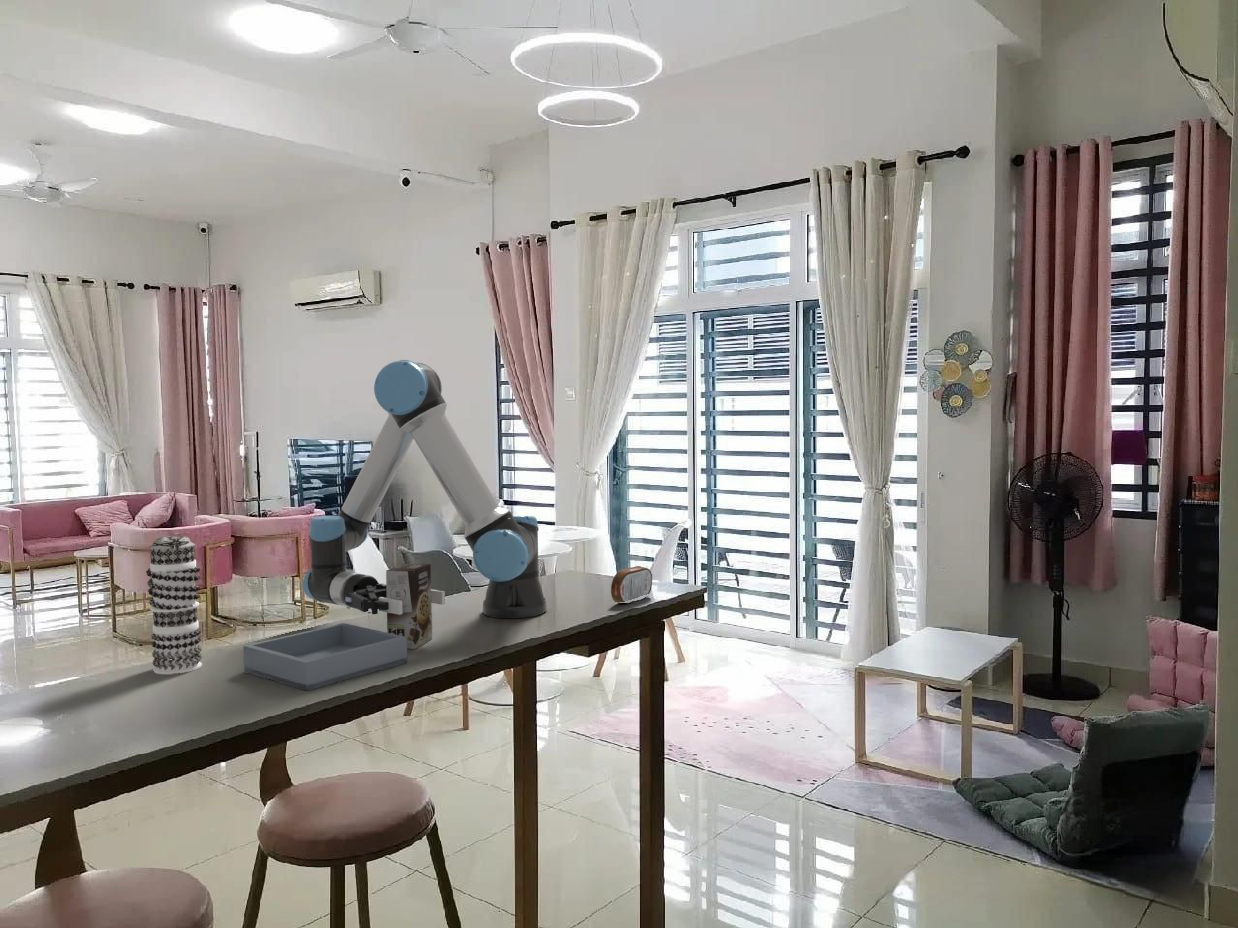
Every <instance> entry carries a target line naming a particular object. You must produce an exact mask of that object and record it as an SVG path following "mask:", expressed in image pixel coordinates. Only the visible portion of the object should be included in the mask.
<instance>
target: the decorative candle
mask: <svg viewBox="0 0 1238 928" xmlns="http://www.w3.org/2000/svg"><path fill="white" fill-rule="evenodd" d="M196 545H197V544H196V543H194V542H192V540H191V539H190V538H189V537H188V536H183V535H181V536H180V535H178V536H177V535H175V536H173V535H172V536H163V537H158V538H156V539H155V540H154V541H153V543H152V545H151V546H148V547H147V548H148V549H150V550H149V551H150V554H149V555H150V563H149V568H148V569H147V570H146V571H145V574H146V576H147V577H150V578H149V579H148V581H147V582H146V584H147V585H148V587H149V589H147V592H148V595H149V596H151V597H150V599H149V601H148V602H149V605H150V606H151V607H150V608H149V611H152V613H153V616H152V619H153V620H152V621H153V624H152V634H151V639H152V640H154V641H153V642H152V643H151V646H152V648H154V650H153V651H152V652H151V655H152V658H153V660H152V665H153V667H154V668H153V669H152V671H154V672H155V673H154V672H153V673H154V674H156V675H174V674H173V673H177V674H176V675H178V673H180V674H185V673H190V672H193V671H196V670H198V669H201V667H202V666H203V663H202V662H201V660H202V659H203V656H202V653H201V652H202V650H203V649H202V646H201V645H199V643H200V642H201V641H202V637H200V636H199V635H200V634H201V633H202V632H201V631H202V630H201V629H200V628H199V627H200V623H199V620H198V607H199V606H200V602H199V601H197V600H198V599H200V598H201V595H200V594H198V593H197V592H198V591H200V589H201V587H200V586H199V585H197V584H196V582H198V581H199V580H201V577H200V575H198V574H197V573H199V572H201V568H200V567H198V566H197V560H196V557H195V556H196V553H195V546H196ZM175 658H176V659H175ZM170 659H172V660H170Z"/></svg>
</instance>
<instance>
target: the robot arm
mask: <svg viewBox="0 0 1238 928" xmlns="http://www.w3.org/2000/svg"><path fill="white" fill-rule="evenodd" d="M442 389H443V388H442V381H441V379H440V376H439V375H438V373H437V371H436V370H434V369H433V368H432V367H431V366H430V365H427V364H425V363H422V362H415V361H413V360H408V359H400V360H396V361H392V362H389V363H388V364H386V365H384V366H383V367H382V368H381V369H380V371H379V372H378V374H377V376H376V377H375V380H374V385H373V391H374V396H375V399H376V402H377V403H378V405H379V406H380V407H381V408H382V409H383V410H384V411H385V412H387V413H388V415H387V418H386V420H385V422H384V424H383V426H382V428H381V430H380V432H379V434H378V436H377V438H376V440H375V442H374V444H373V445H372V447H371V449H370V452H369V453H368V455H367V458H366V459H365V461H364V464H363V465H362V468H360V469H361V470H359V473H358V474H357V477H356V479H355V481H354V483H353V485H352V487H351V489H350V491H349V493H348V495H347V497H346V499H345V501H344V503H343V505H342V507H341V510H340V511H339V513H338V514H337V515H321V516H315V517H313V518H312V519H311V520H310V523H309V525H310V526H309V539H310V540H309V542H310V563H311V565H310V566H311V567H310V569H309V570H308V571H307V572H306V573H305V575H304V577H303V580H302V583H301V584H302V590H303V592H304V594H305V595H306V597H308V598H309V599H312V600H314V601H317V602H319V603H323V604H325V603H326V604H332V605H337V606H341V607H346V609H347V610H350V609H351V608H352V609H356V610H358V611H359V612H360V611H361V612H362V613H367V612H369V610H371V615H378V613H379V612H382V613H383V612H384V613H387V612H388V613H393V614H398V615H401V614H403V613H402V601H401V600H395V599H390V598H387V594H386V593H387V592H386V584H385V583H379V581H378V580H377V578H376V577H374V576H373V575H370V574H362V573H359V572H351V571H347V552H349V551H352V550H354V549H356V548H357V549H358V548H359V547H360V546H361V545H363V543H364V542H365V541H366V540H367V538H368V535H369V529H368V528H369V527H370V524H371V523H372V520H373V518H374V516H375V515H376V513H377V511H378V508H379V506H380V504H382V503H381V502H382V501H383V499H384V497H385V495H386V494H387V491H388V489H389V487H390V486H391V483H392V481H393V479H394V478H395V475H396V474H397V472H398V470H399V467H400V466H401V464H402V463H403V460H404V458H405V456H406V454H407V452H408V450H409V449H410V447H411V444H412V443H413V441H415V443H416V445H417V447H418V448H419V450H420V452H421V453H422V455H423V457H424V458H425V460H426V462H427V463H428V465H429V467H430V468H431V469H432V471H433V474H434V475H435V477H436V479H437V480H438V482H439V484H440V486H441V488H443V490H444V492H445V494H446V495H447V497H448V498H449V501H450V502H451V504H452V505H453V507H454V509H455V510H456V512H457V514H458V516H459V517H460V520H462V522H463V524H464V526H465V530H464V535H463V537H464V539H465V540H466V543H467V545H468V546H469V547H470V549H471V551H472V559H473V563H474V566H475V567H476V569H477V571H478V572H479V573H480V574H481V575H482V576H483V577H484V578H486V579H488V580H489V581H488V585H487V588H486V592H485V598H484V600H483V602H482V614H483V615H485V616H487V617H492V618H498V619H523V618H529V617H530V618H531V617H535V616H540V615H542V613H543V614H545V613H546V612H547V607H548V605H547V600H546V598H545V597H544V591H543V588H542V585H541V582H540V577H539V576H540V575H539V529H540V527H539V526H538V518H536V517H535V516H533V515H513V514H512V512H511V511H510V509H507V508H505V507H504V508H503V507H501V506H500V505H499V503H498V502H497V500H496V499H495V496H493V494H492V492H491V490H490V489H489V487H488V484H487V483H486V482H485V480H484V478H483V476H482V475H481V473H480V471H479V470H478V468H477V466H476V465H475V463H474V461H473V460H472V458H471V456H470V454H469V453H468V452H467V449H466V448H465V446H464V444H463V443H462V441H461V439H460V438H459V436H458V434H457V432H456V430H455V429H454V428H453V426H452V425H451V423H450V421H449V419H448V418H447V416H446V409H447V405H448V404H447V402H446V400H445V399H444V397H443V396H442ZM431 604H436V605H440V606H442V605H443V606H444V605H446V593H445V591H444V590H440V589H439V590H438V589H432V588H431ZM545 611H546V612H545ZM544 612H545V613H544ZM539 614H540V615H539Z"/></svg>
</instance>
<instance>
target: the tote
mask: <svg viewBox="0 0 1238 928" xmlns="http://www.w3.org/2000/svg"><path fill="white" fill-rule="evenodd" d="M242 646H243V647H242V648H243V672H244V673H246V672H247V673H246V674H249V675H252V674H253V676H256V677H259V678H262V679H266V678H268V679H267V680H269V679H271V680H270V681H272V680H275V681H278V682H277V683H279V682H281V683H280V684H282V683H284V684H283V685H285V684H287V686H289V687H291V688H292V687H293V688H295V687H296V689H299V690H303V691H304V692H305V691H306V692H308V691H313V690H315V689H318V688H319V689H320V688H323V687H326V686H330V685H333V684H336V682H337V683H340V682H344V681H347V680H351V679H354V678H357V677H361V676H364V675H368V674H371V673H375V672H378V671H381V670H386V669H389V668H392V667H393V668H394V667H396V666H397V667H398V666H401V665H403V664H407V663H408V652H407V651H408V649H407V641H406V637H404V636H400V635H395V634H391V633H387V632H385V631H381V630H376V629H372V628H368V627H367V628H366V627H362V626H357V625H354V624H353V625H352V624H350V623H349V624H348V623H344V622H342V623H341V622H340V623H337V624H333V625H329V626H324V627H319V628H316V629H311V630H307V631H302V632H298V633H294V634H289V635H284V636H280V637H275V638H271V639H267V640H262V641H258V642H254V643H249V644H244V645H242ZM350 678H351V679H350ZM343 680H344V681H343ZM275 681H274V682H275Z"/></svg>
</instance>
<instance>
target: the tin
mask: <svg viewBox="0 0 1238 928" xmlns="http://www.w3.org/2000/svg"><path fill="white" fill-rule="evenodd" d="M652 585H653V574H652V571H651V570H650V569H649V568H648V567H645V566H644V567H643V566H641V565H636V566H632V567H629V568H623V569H620V570H619V571H617V572H616V574H615V575H614V577H613V579H612V581H611V584H610V593H611V597H612V600H613V601H614V602H615V603H616V602H625V601H628V600H632V599H635V598H638V597H640V596H643V595H647V594H649V595H650V594H651V591H652Z"/></svg>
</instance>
